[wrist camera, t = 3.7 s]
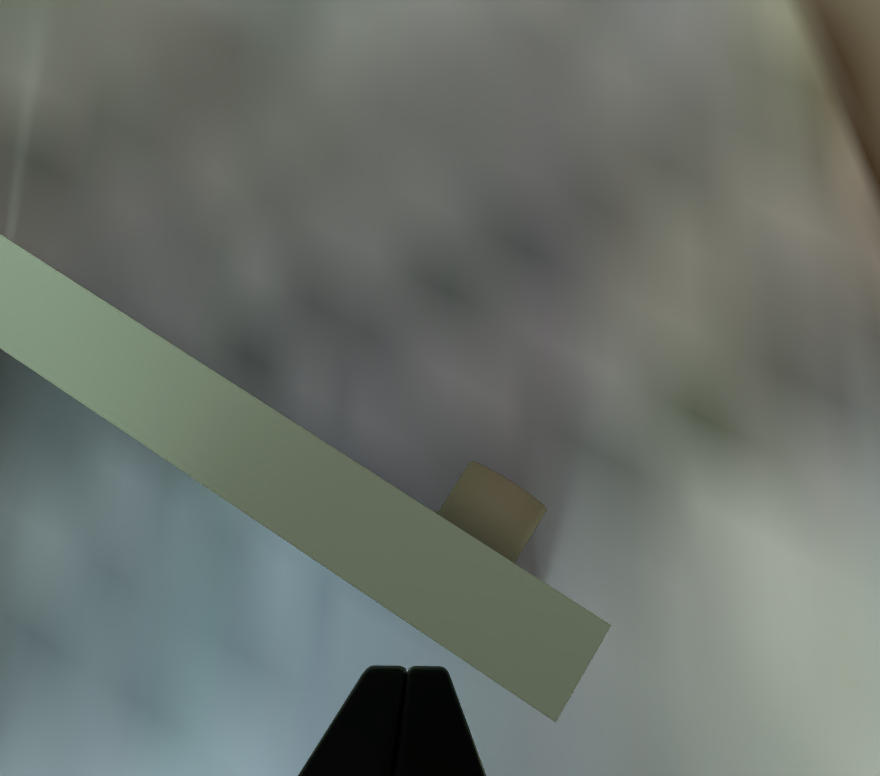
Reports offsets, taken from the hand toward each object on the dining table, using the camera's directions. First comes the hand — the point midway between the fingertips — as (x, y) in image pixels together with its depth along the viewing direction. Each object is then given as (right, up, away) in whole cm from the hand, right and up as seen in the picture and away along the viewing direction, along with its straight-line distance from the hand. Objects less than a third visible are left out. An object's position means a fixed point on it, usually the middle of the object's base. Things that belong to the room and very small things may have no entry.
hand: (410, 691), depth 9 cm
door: (-3, +3, +8) cm, 9 cm away
